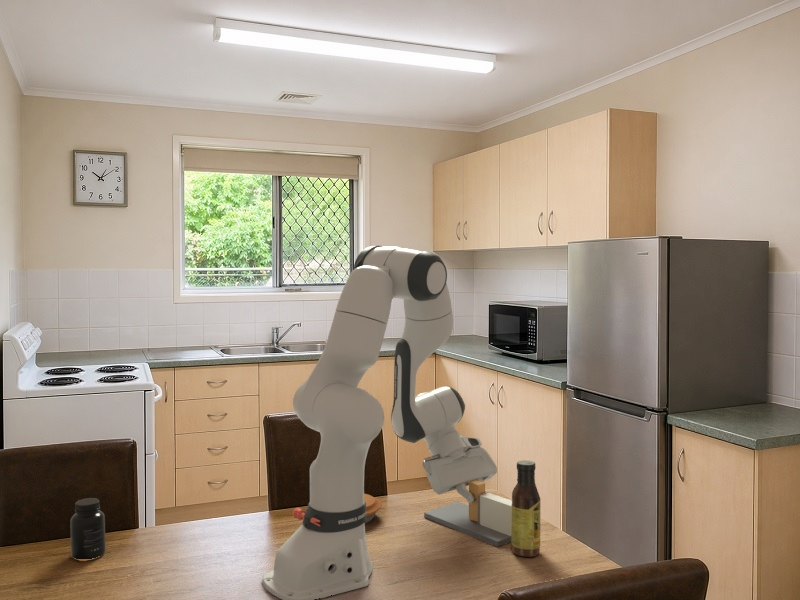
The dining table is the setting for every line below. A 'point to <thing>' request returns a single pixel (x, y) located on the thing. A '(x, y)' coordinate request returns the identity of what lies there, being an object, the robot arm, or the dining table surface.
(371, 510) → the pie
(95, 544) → the supplement bottle
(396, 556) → the dining table surface
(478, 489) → the tan wooden beam
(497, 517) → the grey base plate
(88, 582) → the dining table surface
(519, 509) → the sauce bottle
